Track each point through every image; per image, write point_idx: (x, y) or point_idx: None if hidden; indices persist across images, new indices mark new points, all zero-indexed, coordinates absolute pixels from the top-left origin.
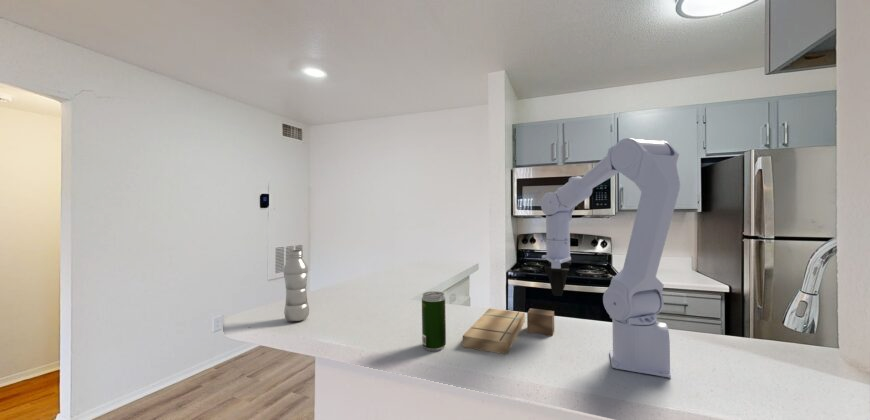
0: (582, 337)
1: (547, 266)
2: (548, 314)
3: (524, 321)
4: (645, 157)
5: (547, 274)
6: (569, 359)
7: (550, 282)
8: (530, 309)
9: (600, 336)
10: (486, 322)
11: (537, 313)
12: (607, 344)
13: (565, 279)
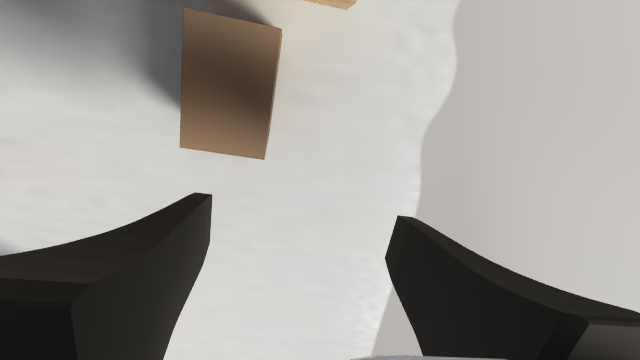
0: (226, 220)
1: (49, 339)
2: (195, 129)
3: (339, 7)
4: None
5: (16, 255)
6: (2, 166)
7: (129, 226)
8: (258, 31)
9: (253, 268)
10: None
11: (192, 71)
12: None
13: (408, 314)
